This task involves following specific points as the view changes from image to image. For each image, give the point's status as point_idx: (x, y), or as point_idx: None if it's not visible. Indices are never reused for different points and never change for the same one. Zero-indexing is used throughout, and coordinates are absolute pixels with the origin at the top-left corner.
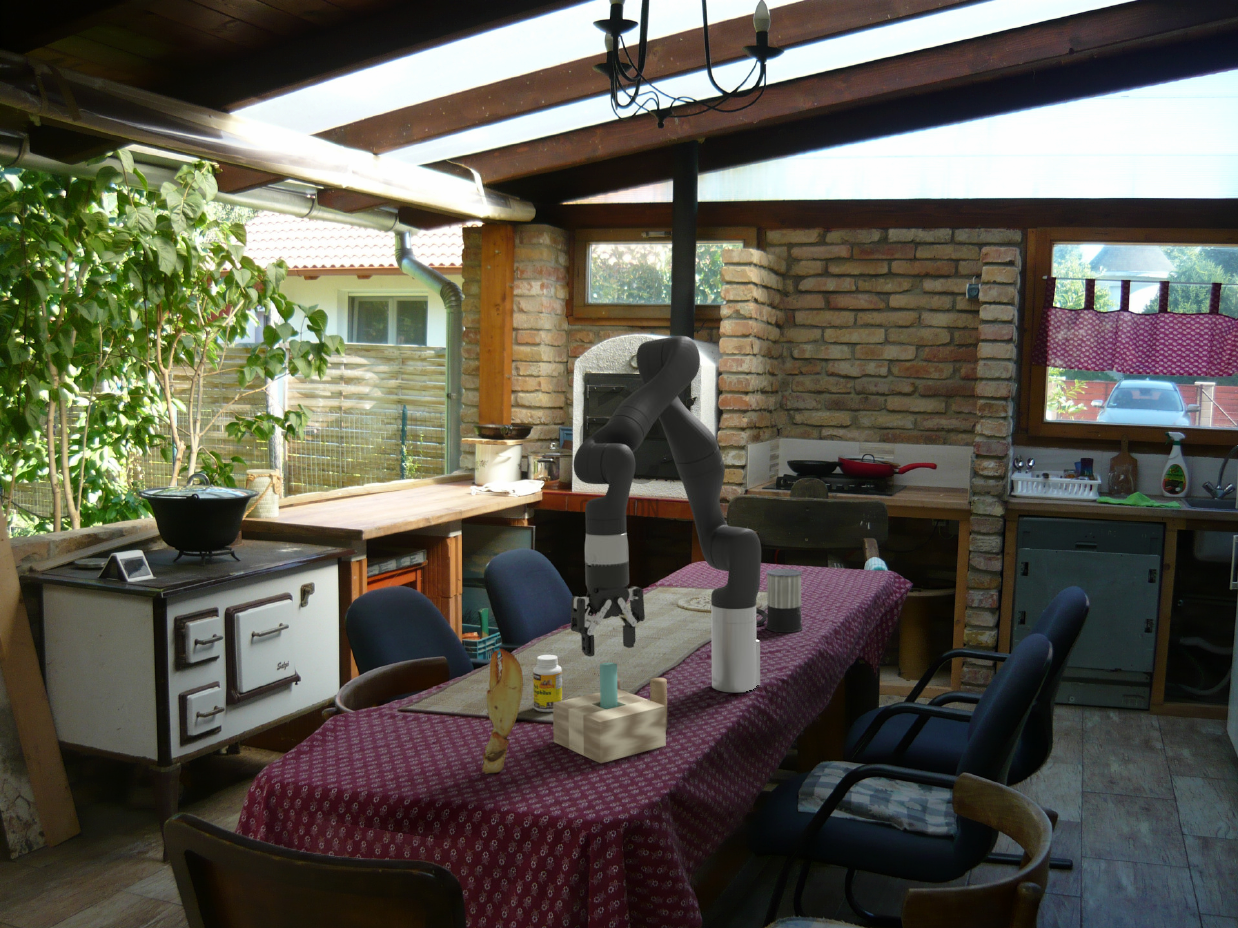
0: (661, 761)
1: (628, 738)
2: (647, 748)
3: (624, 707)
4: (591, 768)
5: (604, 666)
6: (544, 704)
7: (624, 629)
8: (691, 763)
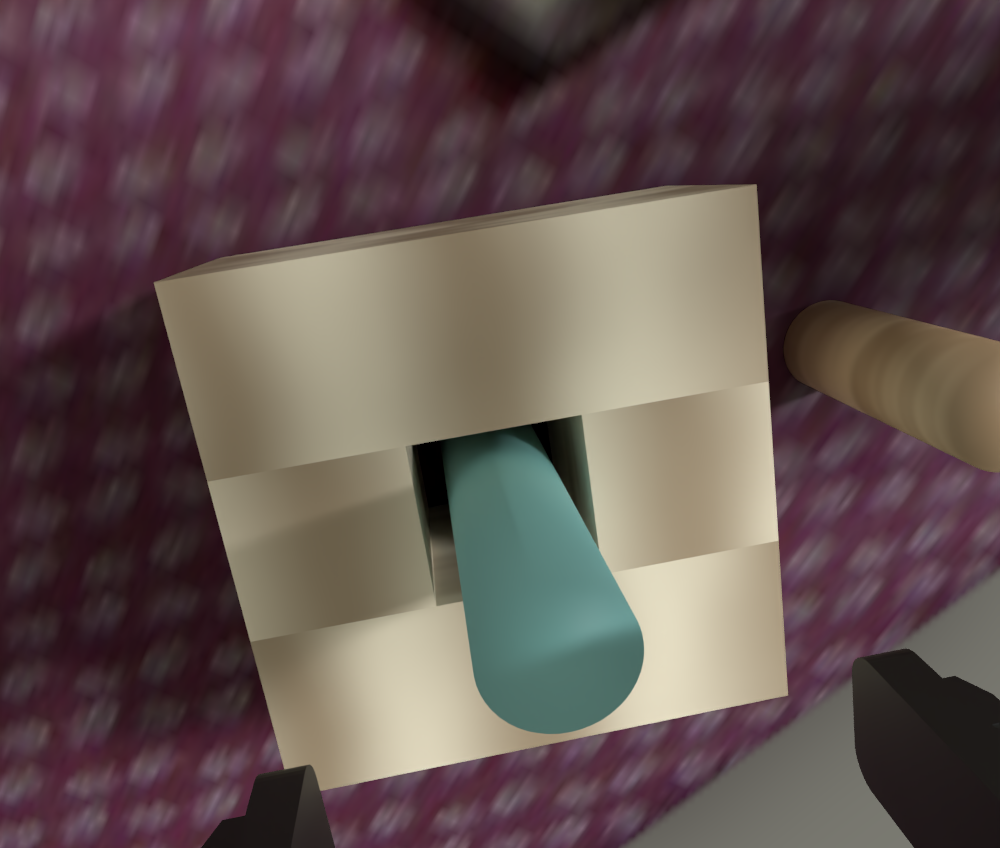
0: (571, 743)
1: None
2: None
3: None
4: (251, 694)
5: (495, 694)
6: None
7: (992, 824)
8: (664, 809)
